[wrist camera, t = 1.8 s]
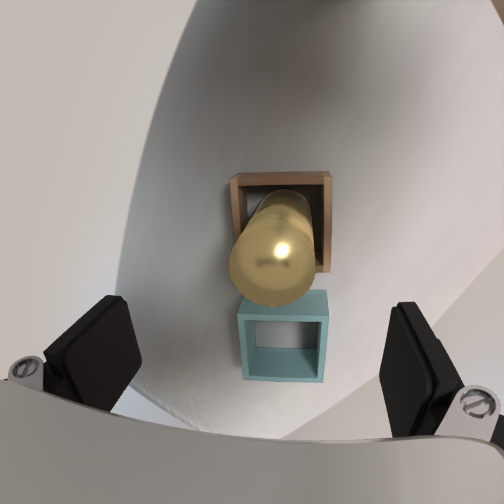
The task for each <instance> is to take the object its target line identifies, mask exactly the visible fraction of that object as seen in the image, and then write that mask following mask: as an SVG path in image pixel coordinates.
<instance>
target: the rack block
mask: <svg viewBox="0 0 504 504" xmlns="http://www.w3.org/2000/svg"><path fill="white" fill-rule="evenodd" d="M237 320H238V330H239V341H240V351H241V361H242V371H243V380H256V381H275V382H313V383H323V377H324V368H325V358H326V347H327V336H328V323H329V310H328V301H327V292H326V290H308V291H307V292H306V293H305V294H304V295H303V296H302V297H301V298H300V299H298V300H297V301H295V302H293V303H291V304H288V305H284V306H278V307H270V306H263V305H260V304H257V303H254V302H252V301H250V300H249V299H247V298H246V297H243V299H242V302H241V305H240V307H239V310H238V312H237ZM254 320H258V321H301V322H319V324H318V340H317V349H291V348H261V347H256V339H255V323H254Z"/></svg>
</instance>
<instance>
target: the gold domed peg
mask: <svg viewBox="0 0 504 504" xmlns="http://www.w3.org/2000/svg"><path fill="white" fill-rule="evenodd" d="M229 273H230V277H231V279H232V282H233V284H234V285H235V287H236V288H237V290H238V291H239V292H240V293H241V294H242V295H243V296H244V297H246V298H247V299H249V300H250V301H252V302H254V303H257V304H260V305H263V306H270V307H278V306H284V305H288V304H291V303H293V302H295V301H297V300H298V299H300V298H301V297H302V296H303V295H304V294H305V293H306V292H307V291H308V290H309V288H310V286H311V285H312V282H313V280H314V276H315V254H314V241H313V230H312V219H311V210H310V207H309V204H308V203H307V201H306V200H305V199H304V197H303V196H301V195H300V194H299V193H297V192H295V191H292V190H287V189H282V190H276V191H274V192H272V193H270V194H268V195H267V196H266V197H265V198H264V199H263V201H262V202H261V204H260V205H259V207H258V208H257V210H256V212H255V213H254V215H253V216H252V218H251V220H250V221H249V223H248V224H247V226H246V227H245V229H244V231H243V232H242V234H241V235H240V237H239V239H238V240H237V242H236V243H235V245H234V247H233V248H232V251H231V253H230V257H229Z"/></svg>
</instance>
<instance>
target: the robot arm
mask: <svg viewBox="0 0 504 504" xmlns="http://www.w3.org/2000/svg"><path fill="white" fill-rule="evenodd" d="M43 353H44V355H45V357H46V360H47V361H46V362H45V363H43V360H42V359H41V358H39V357H37V356H27V357H24V358H21V359H19V360H18V361H16V362H15V363H14V364H13V365H12V366H11V367H10V369H9V373H8V379H4V380H0V504H504V416H503V415H500V414H499V413H500V407H501V404H500V400H499V399H498V397H497V395H496V394H495V393H494V392H492V391H491V390H490V389H488V388H486V387H482V386H478V385H470V386H467V387H465V386H464V384H463V382H462V380H461V378H460V376H459V374H458V372H457V371H456V369H455V367H454V365H453V363H452V361H451V359H450V358H449V356H448V354H447V352H446V350H445V349H444V347H443V345H442V343H441V342H440V340H439V339H437V338H436V336H435V335H434V333H433V331H432V329H431V328H430V326H429V324H428V323H427V321H426V319H425V318H424V316H423V314H422V313H421V311H420V309H419V308H418V306H417V304H416V303H415V302H399V303H398V304H397V307H392V310H391V315H390V321H389V327H388V332H387V338H386V343H385V348H384V353H383V357H382V362H381V367H380V372H379V377H380V383H381V387H382V391H383V395H384V400H385V404H386V408H387V413H388V417H389V422H390V427H391V432H392V436H393V438H381V439H363V440H317V441H314V440H311V441H309V440H281V439H264V438H252V437H241V436H232V435H223V434H215V433H208V432H201V431H195V430H188V429H183V428H177V427H171V426H166V425H161V424H157V423H152V422H147V421H143V420H138V419H134V418H130V417H126V416H122V415H118V414H115V413H111V412H110V411H111V410H112V408H113V407H114V405H115V404H116V402H117V401H118V399H119V398H120V396H121V395H122V393H123V391H124V390H125V389H126V387H127V386H128V385H129V383H130V382H131V380H132V379H133V377H134V376H135V374H136V373H137V371H138V370H139V368H140V367H141V364H142V358H141V354H140V351H139V347H138V344H137V340H136V336H135V333H134V329H133V325H132V321H131V317H130V313H129V309H128V305H127V302H126V301H125V300H123V298H122V297H121V296H113V295H107V296H105V297H104V298H103V299H101V300H100V301H99V302H98V303H97V304H96V305H95V306H93V307H92V308H91V309H90V310H89V311H88V312H87V313H85V314H84V315H83V316H82V317H81V318H80V319H79V320H78V321H76V322H75V323H74V324H73V325H72V326H71V327H70V328H69V329H68V330H66V331H65V332H64V333H63V334H62V335H61V336H60V337H59V338H58V339H56V340H55V341H54V342H53V343H52V344H51V345H50V346H49V347H48V348H47V349H46V350H45V351H44V352H43Z"/></svg>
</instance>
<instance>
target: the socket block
mask: <svg viewBox="0 0 504 504" xmlns="http://www.w3.org/2000/svg"><path fill="white" fill-rule="evenodd" d="M288 184H322V242H321V251H314V254H315V272H321V273H330V267H331V235H332V176H331V175H330V173H329V172H265V173H239V174H237V175H235V176H233V177H232V178H230V193H231V207H232V220H233V233H234V245H235V243H236V242H237V240H238V239H239V237H240V235H241V234H242V232H243V231H244V229H245V227H246V226H247V224H248V211H247V195H246V186H248V185H288Z"/></svg>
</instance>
